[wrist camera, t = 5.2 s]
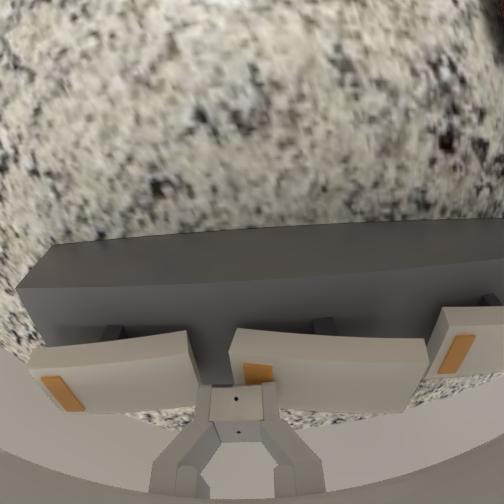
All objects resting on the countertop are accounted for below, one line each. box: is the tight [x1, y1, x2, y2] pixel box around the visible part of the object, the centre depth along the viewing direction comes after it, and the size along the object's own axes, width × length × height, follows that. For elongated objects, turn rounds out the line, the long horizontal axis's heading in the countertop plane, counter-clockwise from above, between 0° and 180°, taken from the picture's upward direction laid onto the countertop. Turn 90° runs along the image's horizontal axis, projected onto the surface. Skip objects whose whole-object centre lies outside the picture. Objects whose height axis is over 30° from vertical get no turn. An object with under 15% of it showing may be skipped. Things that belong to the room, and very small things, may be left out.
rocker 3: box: [424, 306, 504, 379], centre depth 11 cm, size 7×3×1 cm, turn 94°
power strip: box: [15, 218, 504, 384], centre depth 14 cm, size 38×7×5 cm, turn 94°
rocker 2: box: [228, 328, 429, 413], centre depth 11 cm, size 7×3×1 cm, turn 94°
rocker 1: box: [27, 330, 203, 415], centre depth 11 cm, size 7×3×1 cm, turn 94°
